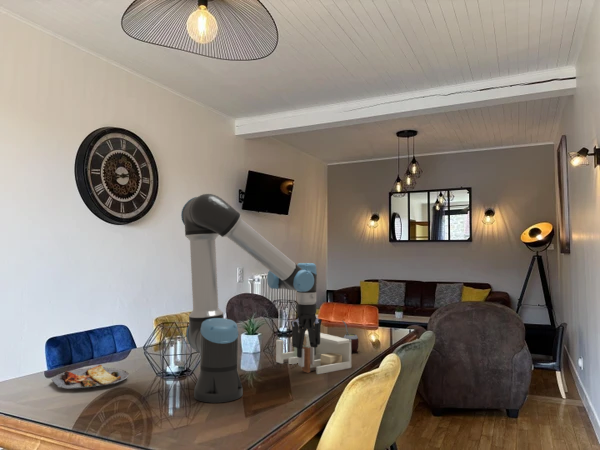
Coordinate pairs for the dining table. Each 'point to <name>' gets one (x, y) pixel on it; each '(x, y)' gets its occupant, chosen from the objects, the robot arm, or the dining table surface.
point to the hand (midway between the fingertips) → (306, 364)
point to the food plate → (89, 377)
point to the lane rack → (327, 346)
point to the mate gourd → (352, 340)
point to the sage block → (280, 352)
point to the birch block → (325, 359)
